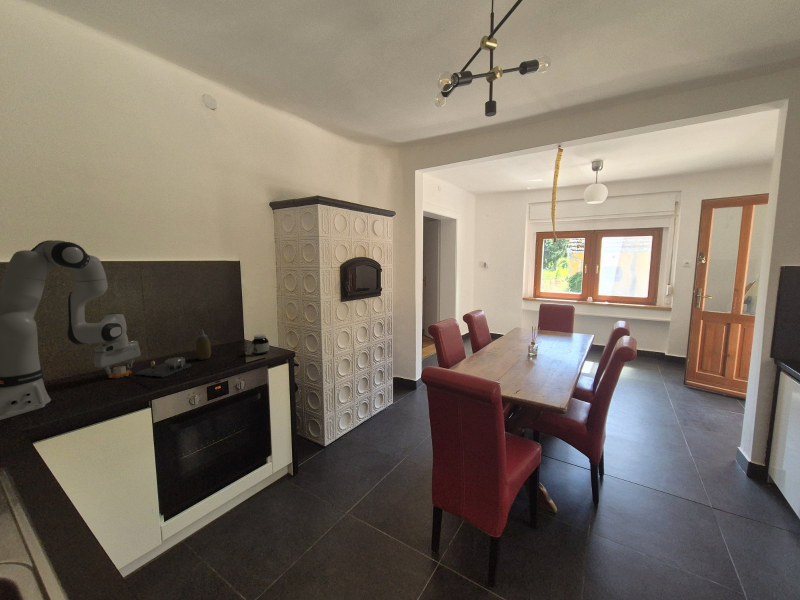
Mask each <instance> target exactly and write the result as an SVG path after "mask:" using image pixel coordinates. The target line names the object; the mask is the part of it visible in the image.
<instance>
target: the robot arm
mask: <svg viewBox="0 0 800 600" xmlns="http://www.w3.org/2000/svg"><path fill="white" fill-rule="evenodd" d="M53 267H60V268H68V269H69V270H70V272H71V274H72V280H73V283H74V284H73V289H72V291H70V293H69V294H68V297H67V298H68V300H67V305H68V306H67V307H68V308H67V309H68V310H67V311H68V313H67V314H68V315H67V316H68V328H67V333H66V334H67V335H66V336H67V339H68V340H69V341H70V342H71V343H73V344H75V345H86V344H98V345H97V346H94V348H93V351H94V352H95V353H94V354H93V365H94V367H96V368H100V369H101V368H104V370H105V371H106V374H107V375H108V374H111V373H113V369H110V368H111V366H112V365H116V364H119V363H122V362H125V361H128V364H126V369H131V368H133V363H134V361H135V358H140V357H141V355H142V352H141V349H140V345H139V341H137V340H135V339H133V340H130V341H129V337H128V335H127V330H128V327H127V322H126V321H127V320H126V319H125V318H126V317H125V316H124V314H122V313H119V312H118V313H115V312H114V313H113V312H112V313H105V314H104V315H103V316H102V317H103V318H102V320H101V321H99V322H87V321H86V317H85V316H86V315H85V314H86V313H85V311H86V309H85V308H86V307H85V306H86V305H87V303H88V302H90V301H92V300H95V299H97V298H99V297H101V296H103V295H104V294H105V293H106V292H107V290H108V285H109V284H108V279H107V275H106V272H105V269H104V266H103V264H102V262H101V260H100V258H98V257H96V256H94V255H90V254H88V253H87V252H86V251H85V249H84V248H83V247H81V246H80V245H79V244H77V243H74V242H72V241H71V242H70V241H64V240H59V239H58V240H57V239H55V240H50V239H49V240H44V241H42V242H39V243H38V244H37V245H35V247H32V249H31V250H30V249H29V250H25V249H24V250H18V251H16V252H14V253H13V255H12V257H11V258H10V260H9V262H8V264H7V266H6V269H5V271H4V276H3V279H2V282H1V287H0V421H1V420H5V419H9V418H12V417H15V416H18V415H21V414H25V413H29V412H32V411H36V410H39V409H42V408H44V407H46V405H47V404H49V403H50V402H51V401H52V399H51V397H50V396H49V394H48V392H47V390H46V386H45V383H44V370H43V368H41V363H40V355H39V342H38V341H39V340H38V339H39V338H38V328H37V322H36V321H35V319H34V318H35V315H36V312H37V310H38V308H39V304H40V302H41V300H42V297H43V292H44V288H45V284H46V281H47V276H48V273H49V271H50V270H51V269H52V268H53ZM99 343H101V344H99Z"/></svg>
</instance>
